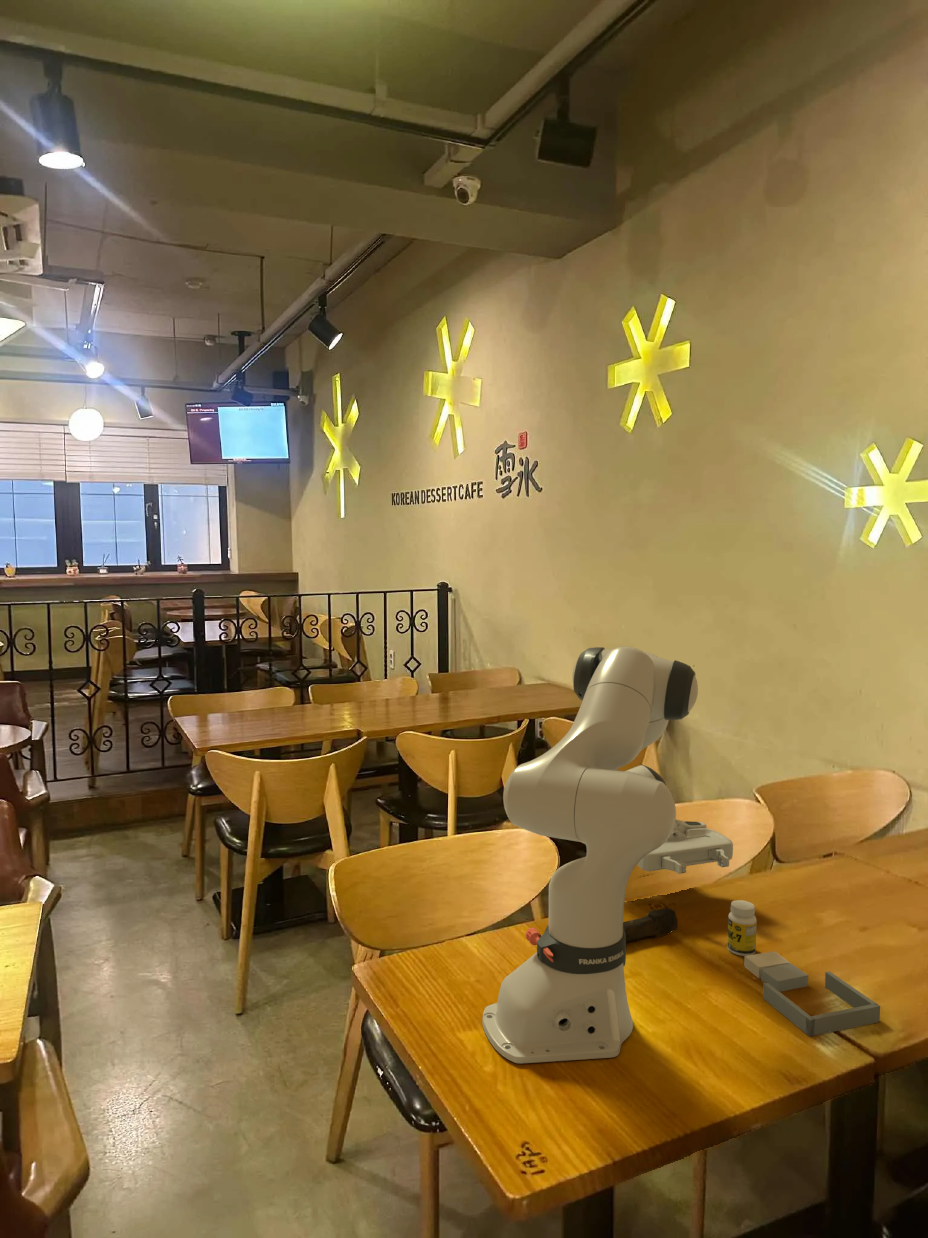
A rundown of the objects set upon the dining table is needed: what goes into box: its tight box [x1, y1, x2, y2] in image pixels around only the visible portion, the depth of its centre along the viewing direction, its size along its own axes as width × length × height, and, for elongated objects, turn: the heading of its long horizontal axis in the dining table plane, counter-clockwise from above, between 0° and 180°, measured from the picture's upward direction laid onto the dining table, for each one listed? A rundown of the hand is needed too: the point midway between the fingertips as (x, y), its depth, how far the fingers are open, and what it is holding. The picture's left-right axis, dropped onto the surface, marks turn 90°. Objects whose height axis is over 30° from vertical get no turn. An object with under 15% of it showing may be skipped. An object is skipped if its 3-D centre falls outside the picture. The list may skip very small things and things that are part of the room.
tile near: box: [760, 963, 809, 993], centre depth 135 cm, size 6×4×2 cm, turn 108°
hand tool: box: [623, 907, 679, 943], centre depth 150 cm, size 19×4×5 cm, turn 112°
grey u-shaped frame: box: [762, 970, 881, 1037], centre depth 127 cm, size 13×11×2 cm
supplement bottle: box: [727, 899, 757, 957], centre depth 146 cm, size 5×5×8 cm
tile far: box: [743, 950, 791, 979], centre depth 140 cm, size 6×4×2 cm, turn 106°
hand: (704, 866), depth 157 cm, fingers open, 8 cm apart
